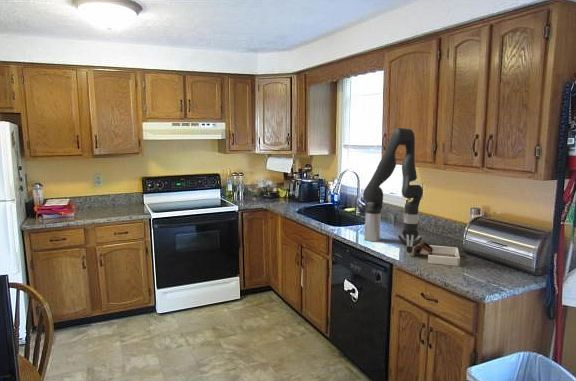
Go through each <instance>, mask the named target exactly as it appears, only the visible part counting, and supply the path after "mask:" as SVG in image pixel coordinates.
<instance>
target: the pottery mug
mask: <svg viewBox="0 0 576 381" xmlns="http://www.w3.org/2000/svg"><path fill="white" fill-rule="evenodd" d="M420 242H421V243H420ZM420 242H419V243H418V244H417V245H416V246H414V247H413V250H412V254H413V256H419V255H420V253H421V252H422V251H423V250H424V251H425V252H427V253H428V252H429V253H428V255H433V253H432V251H433V248H432V247H431V246H430V245H431V244H428V243H427V242H424V241H420Z"/></svg>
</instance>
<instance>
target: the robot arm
mask: <svg viewBox="0 0 576 381" xmlns="http://www.w3.org/2000/svg"><path fill="white" fill-rule="evenodd" d="M415 140H416V138H415V133H414V130H412V129H411V128H403V127H397V128H395V129H394V130H393V131H392V134H391V135H390V139H389V141H388V142H387V143H388V144H387V147H386V149H385V151H384V153H383V156H382V157H381V160H380V161H379V163H378V165H377V166H376V167H377V168H376V170H375V172H374V173H373V175H372V176H371V179H370V181H369V182H368V184H367V185H366V187H365V188H364V190H363V194H362V197H363V201H364V202H366V203H370V205H368V206H367V207H366V208H365V224H364V238H363V239H364V241H367V242H379V241H381V221H382V220H381V219H382V217H381V216H382V209H383V205H384V202H383V201H384V191H383V190H382V188H381V187H380V186H381V185H382V184H383V183H384V182H386V181H387V180H389V178H390V177H391V176H392V174H393V173H394V171H395V169H396V167H397V159H396V151H397V150H398V147H399V146H404V147H405V155H404V158H403V160H402V164H401V172H402V178H403V180H402V187H401V193H402V194H401V195H402V196H403V198H405V199H412V200H410V201H407V202H405V203H404V212H403V213H404V214H403V227H402V228H403V229H402V232H401V234H398V239H399V240H400V242H401V244H403V246H405V247H406V252H407V253H408V254H412V253H413V250H414V247H416V245H417V244H420V242H422V240H423V236H421V235H419V207H420V203H421V201H422V197H423V192H424V190H423V187H422V186H421V185H420V184H410V183H412V182H414V181H416V180H417V178H418V176H417V168H416V163H415V162H416V161H415V159H416V158H415V154H416V153H415V151H416V150H415V148H416V147H415V144H416V143H415V142H416V141H415ZM416 239H417V240H416ZM414 241H415V242H414Z"/></svg>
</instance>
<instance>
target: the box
mask: <svg viewBox="0 0 576 381" xmlns="http://www.w3.org/2000/svg"><path fill="white" fill-rule="evenodd" d="M429 245H430V246H431V247H432V248H433V251H432V255H429V252H427V253H428V255H427V264H434V265H435V264H436V265H444V266H456V267H460V264H461V257H460V253H459V252H460V251H459V248H458V247H457V246H456V247H455V246H442V245H432V244H429ZM433 254H442V255H433ZM444 255H453V256H454V257H453V256H444Z"/></svg>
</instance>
